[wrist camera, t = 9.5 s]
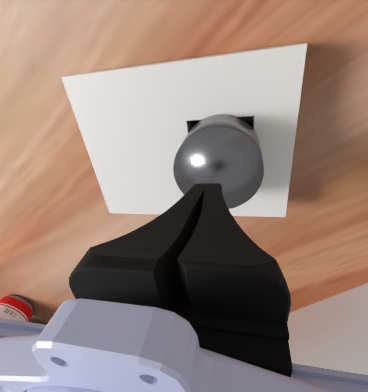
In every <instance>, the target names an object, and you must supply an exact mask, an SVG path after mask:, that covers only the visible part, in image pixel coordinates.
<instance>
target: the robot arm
mask: <svg viewBox="0 0 368 392" xmlns="http://www.w3.org/2000/svg"><path fill="white" fill-rule="evenodd" d="M69 285H70V288H71V290H72V293H73V294H74V296H75V298H76V299H70V300H65V301H64V302H63V303H62V304H61V305H60V307H59V308H58V309H57V311H56V312H55V314H54V315H53V317H52V318H51V319H50V321H49V322H48V324H47V325H42V324H35V323H29V322H23V321H16V320H10V319H3V318H0V392H368V375H362V374H356V373H349V372H343V371H337V370H330V369H324V368H318V367H311V366H305V365H298V364H292V362H291V356H290V350H289V343H288V340H289V332H288V326H287V321H288V316H289V311H290V305H291V298H290V293H289V289H288V286H287V283H286V281H285V278H284V276H283V274H282V271H281V269H280V267H279V265H278V263H277V261H276V260H275V259H274V258H273V257H272V256H270V255H269V254H267V253H266V252H265V251H263V250H262V249H261V248H259V247H258V246H257V245H256V244H255V243H254V242H253V241H252V240H251V239H250V238H249V237H248V236H247V235H246V234H245V233H244V231H243V230H242V229H241V228H240V226H239V225H238V224H237V222H236V221H235V219H234V218H233V216H232V215H231V213H230V211H229V209H228V207H227V205H226V202H225V200H224V197H223V194H222V185H221V184H220V183H202V184H195V185H194V186H193V187H192V188H191V189H190V190H189V191H188V192H187V193H186V194H185V195H184V196H183V197H182V198H181V199H179V200H178V201H177V202H176V203H175V204H174V205H173V206H171V207H170V208H169V209H168V210H167V211H165V212H164V213H163V214H161V215H160V216H158V217H157V218H155V219H154V220H152V221H151V222H149V223H147V224H145V225H144V226H142V227H140V228H138V229H136V230H134V231H132V232H130V233H128V234H126V235H124V236H121V237H119V238H116V239H114V240H111V241H108V242H105V243H102V244H100V245H97V246H93V247H90V249H89V250H88V251H87V253H86V254H85V255H84V257H83V258H82V259H81V261H80V262H79V263H78V265H77V266H76V268H75V269H74V270H73V272H72V273H71V275H70V277H69Z"/></svg>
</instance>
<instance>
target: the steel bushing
mask: <svg viewBox="0 0 368 392" xmlns="http://www.w3.org/2000/svg"><path fill="white" fill-rule="evenodd" d="M173 172H174V177H175V181H176V183H177V185H178V187H179V189H180V190H181V192H182V193H183V194H184V195H185V194H186V193H187V192H188V191H189V190H190V189H191V188H192V187H193V186H194V185H195V184H202V183H220V184H221V185H222V194H223V197H224V200H225V202H226V205H227V207H228V209H231V208H235V207H237V206H240V205H242V204H244V203H245V202H247V201H248V200H250V199H251V198H252V197H253V196H254V195H255V194H256V192H257V191H258V189H259V188H260V186H261V183H262V180H263V176H264V165H263V159H262V154H261V149H260V143H259V139H258V137H257V135H256V133H255V131H254V130H253V128H252V127H251V126H250V125H249V124H248V123H246V122H245V121H244V120H242V119H240V118H238V117H235V116H232V115H227V114H217V115H212V116H209V117H206V118H204V119H202V120H200V121H199V122H197V123H196V124H195V125H194V126H193V127H192V128H191V130H190V131H189V133H188V134H187V136H186V138H185V139H184V141H183V143H182V144H181V146H180V148H179V150H178V151H177V154H176V156H175V159H174V164H173Z"/></svg>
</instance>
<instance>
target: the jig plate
mask: <svg viewBox="0 0 368 392" xmlns="http://www.w3.org/2000/svg"><path fill="white" fill-rule="evenodd" d="M306 50H307V44H290V45H283V46H275V47H268V48H261V49H254V50H246V51H239V52H232V53H225V54H217V55H210V56H203V57H196V58H188V59H181V60H174V61H167V62H159V63H152V64H145V65H138V66H130V67H123V68H116V69H109V70H101V71H94V72H87V73H81V74H76V75H70V76H65V77H61V78H62V81H63V83H64V86H65V89H66V92H67V95H68V97H69V100H70V103H71V106H72V109H73V111H74V114H75V117H76V120H77V123H78V125H79V128H80V131H81V134H82V137H83V139H84V142H85V145H86V148H87V151H88V154H89V156H90V159H91V162H92V165H93V168H94V170H95V173H96V176H97V179H98V182H99V184H100V187H101V190H102V193H103V196H104V198H105V201H106V204H107V207H108V210H109V213H123V214H163V213H164V212H165V211H167V210H168V209H169V208H170V207H171V206H173V205H174V204H175V203H176V202H177V201H178V200H179V199H181V198H182V197H183V196H184V194H183V193H182V192H181V190H180V189H179V187H178V185H177V183H176V181H175V177H174V172H173V164H174V159H175V156H176V154H177V151H178V150H179V148H180V146H181V144H182V143H183V141H184V139H185V138H186V136H187V134H188V133H189V131H190V130H191V128H192V127H193V126H194V125H195V121H194V120H202V119H204V118H206V117H209V116H212V115H217V114H227V115H232V116H235V117H246V116H252V128H253V130H254V131H255V133H256V135H257V137H258V139H259V143H260V149H261V154H262V159H263V165H264V176H263V180H262V183H261V186H260V188H259V189H258V191H257V192H256V194H255V195H254V196H253V197H252V198H251V199H250V200H248V201H247V202H245V203H244V204H242V205H240V206H237V207H235V208H231V209H229V211H230V213H231V215H232V216H262V217H285V216H286V208H287V200H288V192H289V184H290V177H291V169H292V161H293V153H294V145H295V137H296V129H297V121H298V113H299V105H300V97H301V89H302V81H303V74H304V66H305V58H306Z"/></svg>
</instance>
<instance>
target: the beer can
mask: <svg viewBox="0 0 368 392" xmlns="http://www.w3.org/2000/svg"><path fill="white" fill-rule="evenodd" d="M32 309H33V307H32V305H31V304H30V303H29V302H28V301H27V300H25V299H23V298H22V297H19V296H16V295H10V296H6V297H3V298H2V299H1V300H0V318H3V319H10V320H16V321H23V322H28V320H29V319H30V318H31V317H32V315H33V310H32Z"/></svg>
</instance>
